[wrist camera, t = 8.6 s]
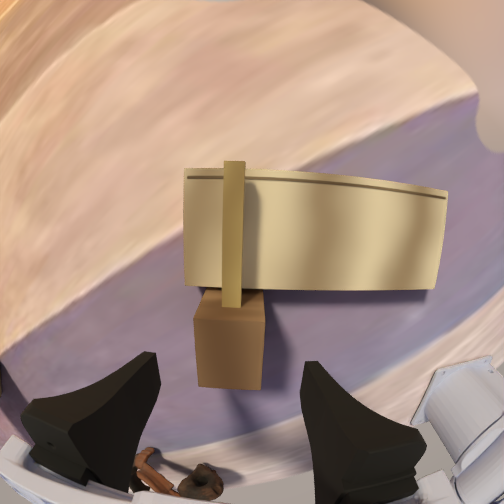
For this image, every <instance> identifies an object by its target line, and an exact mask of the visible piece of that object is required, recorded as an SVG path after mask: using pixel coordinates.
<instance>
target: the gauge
mask: <svg viewBox="0 0 504 504" xmlns="http://www.w3.org/2000/svg"><path fill="white" fill-rule="evenodd" d="M245 164H246V163H245V161H224V178H223V217H222V287H207V288H206V290H205V293H204V295H203V297H202V300H201V302H200V304H199V306H198V309H197V311H196V313H195V316H194V318H193V321H194V337H195V351H196V363H197V375H198V386H199V387H209V388H223V389H241V390H261V378H262V364H263V349H264V334H265V312H264V299H263V289H249V288H242V259H243V224H244V193H245Z"/></svg>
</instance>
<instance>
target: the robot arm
mask: <svg viewBox="0 0 504 504" xmlns="http://www.w3.org/2000/svg"><path fill="white" fill-rule="evenodd" d="M491 360H492V356H491V355H488V356H485V357H482V358H478V359H475V360H471V361H468V362H464V363H460V364H456V365H452V366H448V367H444V368H440V369H438V370H436V372H435V373H434V376H433V378H432V380H431V383H430V385H429V387H428V389H427V391H426V394H425V396H424V398H423V400H422V402H421V404H420V406H419V408H418V410H417V412H416V414H415V415H414V417H413V419H412V421H411V424H412V425H417V424H421V423H424V422H427V421H430V423H431V424H432V426H433V428H434V429H435V431H436V432H437V434H438V435H439V437H440V439H441V440H442V442H443V444H444V446H445V447H446V449H447V450H448V452H449V454H450V456H451V457H452V459H453V461H454V462H455V464H456V465H455V466H454V467H453V468H452V469H451V471H452V473H453V474H454V476H453V477H452V478H451V480H450V482H449V480H448V478H447V476H446V474H445V472H444V470H439V471H437V472H434V473H432V474H429V475H426V476H424V477H422V478H420V479H418V480H417V481H416V480H415V478H414V476H415V475H416V471H415V468H414V466H415V465H416V464H417V463H418V461H419V460H420V459H421V457H422V456H423V454H424V453H425V451H426V447H427V445H426V443H425V441H424V439H423V437H422V435H421V434H420V432H419V431H418V429H416V428H412V427H409V426H406V425H402V424H399V423H397V422H394V421H392V420H390V419H387V418H385V417H383V416H381V415H379V414H377V413H376V412H374V411H372V410H370V409H369V408H367V407H366V406H364V405H363V404H361V403H360V402H359V401H357V400H356V399H355V398H353V397H352V396H351V395H350V394H349V393H347V392H346V391H345V390H344V389H343V388H342V387H341V386H340V385H339V384H338V383H337V382H336V381H335V380H334V379H333V378H332V377H331V376H330V374H329V373H328V372H327V371H326V370H325V369H324V368H323V367H322V365H321V364H320V363H319V362H318V361H305V365H304V371H303V377H302V383H301V388H300V400H301V409H302V413H303V418H304V422H305V426H306V430H307V434H308V438H309V442H310V446H311V452H312V461H313V472H314V485H315V504H504V498H503V499H501V500H500V501H496V500H497V499H498V498H499V497H500V496H502V495H503V494H504V377H503V376H502V375H501V374H500V373H499V372H498V371H497V370H496V369H495V368H494V367H493V366H492V365H491V364H490V363H491ZM160 387H161V380H160V375H159V369H158V363H157V357H156V353H153V352H146V351H144V352H143V353H141V354H140V355H138V356H137V357H135V358H134V359H133V360H131V361H130V362H128V363H127V364H126V365H124V366H123V367H121V368H120V369H118V370H117V371H115V372H113V373H112V374H110V375H109V376H107V377H105V378H104V379H102V380H100V381H98V382H96V383H94V384H92V385H89V386H87V387H85V388H82V389H79V390H76V391H74V392H71V393H67V394H63V395H59V396H54V397H48V398H39V399H33V400H32V402H31V403H30V404H29V405H28V406H27V407H26V409H25V410H24V411H23V412H22V413H21V421H22V423H23V425H24V427H25V429H26V430H27V432H28V433H29V435H30V436H31V438H32V439H33V441H34V442H35V446H34V447H33V448H32V447H31V446H30V445H29V444H28V443H26V442H25V441H23V440H21V439H20V438H18V437H16V436H15V435H12V436H11V437H10V438H9V440H8V441H7V442H6V444H5V445H4V446H3V448H2V449H1V450H0V476H1V477H2V478H3V479H4V480H5V482H7V484H8V485H9V486H10V487H12V488H13V489H14V490H15V491H16V492H17V493H18V494H19V495H21V496H22V497H24V498H25V499H27V500H28V501H30V502H31V503H33V504H229V503H223V502H214V501H205V500H197V499H190V498H184V497H178V496H172V495H167V494H162V493H158V492H151V491H140V492H135V493H134V495H132V494H129V493H128V490H129V483H130V478H131V472H132V467H133V463H134V459H135V455H136V451H137V447H138V444H139V440H140V437H141V435H142V432H143V430H144V428H145V425H146V423H147V421H148V419H149V416H150V414H151V412H152V410H153V407H154V405H155V403H156V401H157V397H158V394H159V390H160ZM494 501H496V502H494Z"/></svg>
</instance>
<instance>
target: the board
mask: <svg viewBox="0 0 504 504" xmlns="http://www.w3.org/2000/svg"><path fill="white" fill-rule="evenodd" d="M223 178H224V168H184V202H183V230H184V273H185V286H204V287H222V217H223ZM447 199H448V191H444V190H438V189H433V188H428V187H422V186H417V185H411V184H405V183H398V182H392V181H385V180H378V179H370V178H362V177H354V176H345V175H335V174H325V173H313V172H300V171H285V170H265V169H245V193H244V224H243V259H242V288H249V289H283V290H415V289H434V288H435V283H436V278H437V273H438V268H439V263H440V257H441V251H442V245H443V238H444V230H445V221H446V211H447Z"/></svg>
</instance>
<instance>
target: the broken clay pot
mask: <svg viewBox="0 0 504 504" xmlns="http://www.w3.org/2000/svg"><path fill="white" fill-rule="evenodd" d="M154 452H155V451H154V448H151V447H147V448H146V449H145V450H142V451H141V453H139V454H136V456H135V459H134V463H133V467H132V472H131V478H130V483H129V487H130V489H131V490H132V491H133V493H135V492H140V491H149V490H150V487H151V488H152V489H153V490H154V491H155V492H158V493H162V494H167V495H172V496H178V497H184V498H190V499H197V500H205V501H211V500H214V499H216V498H218V497H219V496H220V495H221V494H222V493H223V489H224V488H223V481H222V479H221V478H220V477H219V476H218V475H217V474H216V471H215V470H212V471H211V470H210V468H209V467H207V466H205V465H203V464H198V465H197V467H196V469H195V470H194V471H193V473H192V474H190V475H189V476H188V477H187V478H185V479H183V480H182V481H181V483H180V484H179V486H178V492H179V493H178V492H176V491H174V490H173V489H172V488H173V486H174V484H172V483H171V482H169V481H168V480H167V479H166V478H165V477H164V476H162V475H161V474H159V473H157V472H156V471H155V470H154V469H153V468H152V467H151V466H150V465H148V464H147V463H146V462H147V460H148V458H149V457H150V456H151V455H152V454H153V453H154ZM138 469H140V470H139V471H137V470H138ZM141 480H143V481H144V482H145V483H146V484H148V485H149V486H150V487H149V486H146V485H144V484H143V483H142V481H141Z"/></svg>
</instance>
